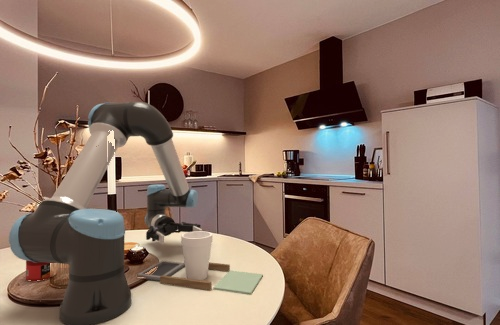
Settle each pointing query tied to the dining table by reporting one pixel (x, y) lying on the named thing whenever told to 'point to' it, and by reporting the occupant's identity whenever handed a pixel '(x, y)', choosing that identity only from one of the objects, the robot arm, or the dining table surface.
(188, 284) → the channel rails
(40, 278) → the canned food
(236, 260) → the dining table surface
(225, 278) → the pad
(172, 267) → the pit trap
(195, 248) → the foam cup
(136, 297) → the dining table surface
